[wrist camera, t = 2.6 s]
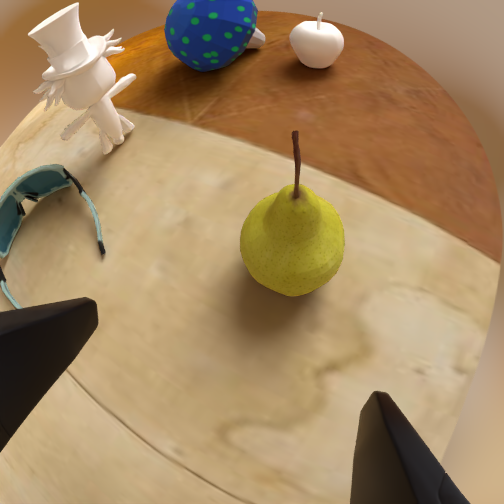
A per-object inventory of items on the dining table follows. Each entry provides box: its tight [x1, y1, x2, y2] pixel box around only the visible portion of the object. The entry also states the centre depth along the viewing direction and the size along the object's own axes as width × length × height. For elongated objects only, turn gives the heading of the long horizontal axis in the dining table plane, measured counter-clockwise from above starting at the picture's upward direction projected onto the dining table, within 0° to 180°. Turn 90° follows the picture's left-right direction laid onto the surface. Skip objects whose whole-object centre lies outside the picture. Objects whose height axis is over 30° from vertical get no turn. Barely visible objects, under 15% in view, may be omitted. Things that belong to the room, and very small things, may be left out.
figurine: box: [28, 3, 136, 154], centre depth 22 cm, size 10×8×18 cm
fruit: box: [240, 131, 345, 296], centre depth 17 cm, size 7×7×12 cm
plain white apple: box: [290, 13, 344, 68], centre depth 30 cm, size 7×7×8 cm
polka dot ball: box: [164, 0, 265, 72], centre depth 31 cm, size 14×14×15 cm
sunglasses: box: [0, 164, 105, 309], centre depth 24 cm, size 14×15×5 cm
